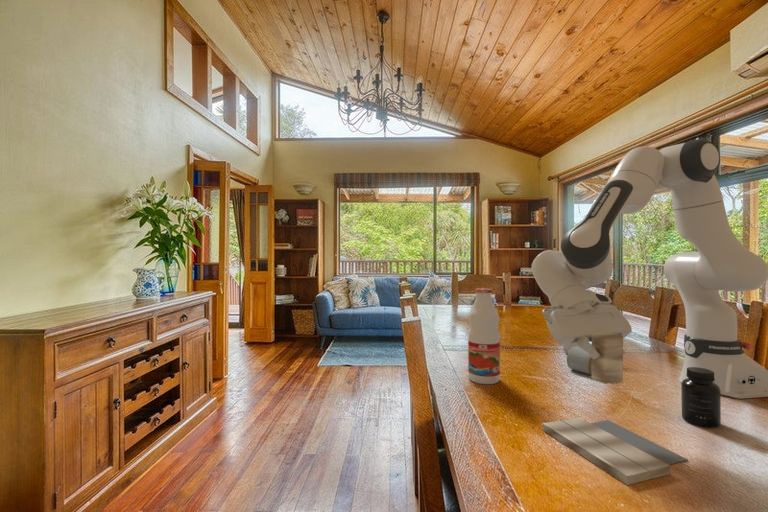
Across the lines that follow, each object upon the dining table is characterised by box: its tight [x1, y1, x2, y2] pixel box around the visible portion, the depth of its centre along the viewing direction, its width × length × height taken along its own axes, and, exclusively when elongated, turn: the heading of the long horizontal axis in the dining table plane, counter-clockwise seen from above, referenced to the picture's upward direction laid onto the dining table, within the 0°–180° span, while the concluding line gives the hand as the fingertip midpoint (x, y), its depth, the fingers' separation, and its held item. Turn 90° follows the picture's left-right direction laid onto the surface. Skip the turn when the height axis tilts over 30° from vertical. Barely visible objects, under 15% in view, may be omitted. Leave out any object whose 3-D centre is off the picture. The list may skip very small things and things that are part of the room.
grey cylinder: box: [566, 346, 592, 376], centre depth 120 cm, size 11×8×8 cm
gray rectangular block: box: [591, 333, 624, 385], centre depth 81 cm, size 4×5×10 cm
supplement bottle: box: [680, 367, 722, 429], centre depth 84 cm, size 7×7×12 cm
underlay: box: [590, 419, 689, 466], centre depth 76 cm, size 17×7×1 cm, turn 17°
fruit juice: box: [467, 287, 501, 385], centre depth 113 cm, size 9×9×28 cm
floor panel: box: [542, 416, 671, 486], centre depth 73 cm, size 20×10×2 cm, turn 17°
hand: (609, 356), depth 80 cm, fingers closed on gray rectangular block, 5 cm apart
